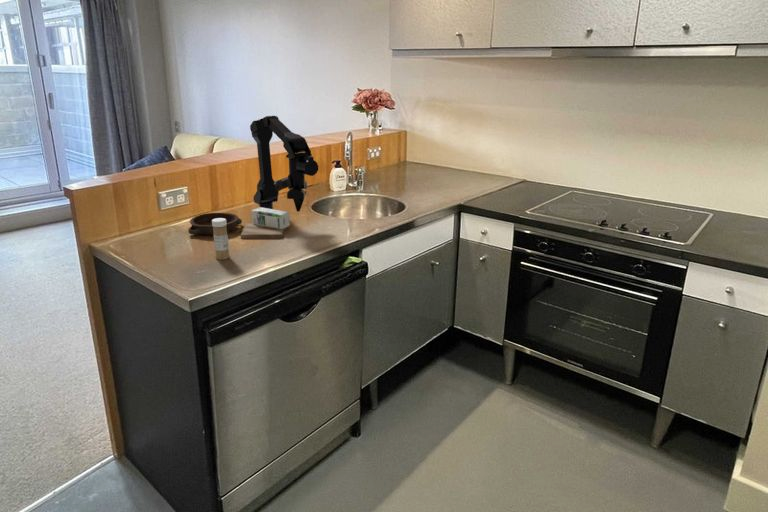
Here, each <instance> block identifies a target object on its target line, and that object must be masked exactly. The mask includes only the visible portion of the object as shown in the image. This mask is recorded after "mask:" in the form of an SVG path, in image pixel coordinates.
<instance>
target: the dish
mask: <svg viewBox="0 0 768 512" xmlns="http://www.w3.org/2000/svg"><path fill="white" fill-rule="evenodd" d="M216 218H225V219H226V222H227V225H226V228H227V233H230V232H232V231H234V230H235V229H236V226H240V225H241V224H243V221H242V218H240V217H239V215H237V214H234V213H232V212H231V213H228V212H207V213H201V214H198V215H196V216H194V217H192V218H191V219H190V220H189V224H190V225H191V226H190V227H189V228H188V230H187V231H188V233H189V234H191V235H198V234H199V235H206V236H214V232H213V226H212V220H213V219H216Z"/></svg>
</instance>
